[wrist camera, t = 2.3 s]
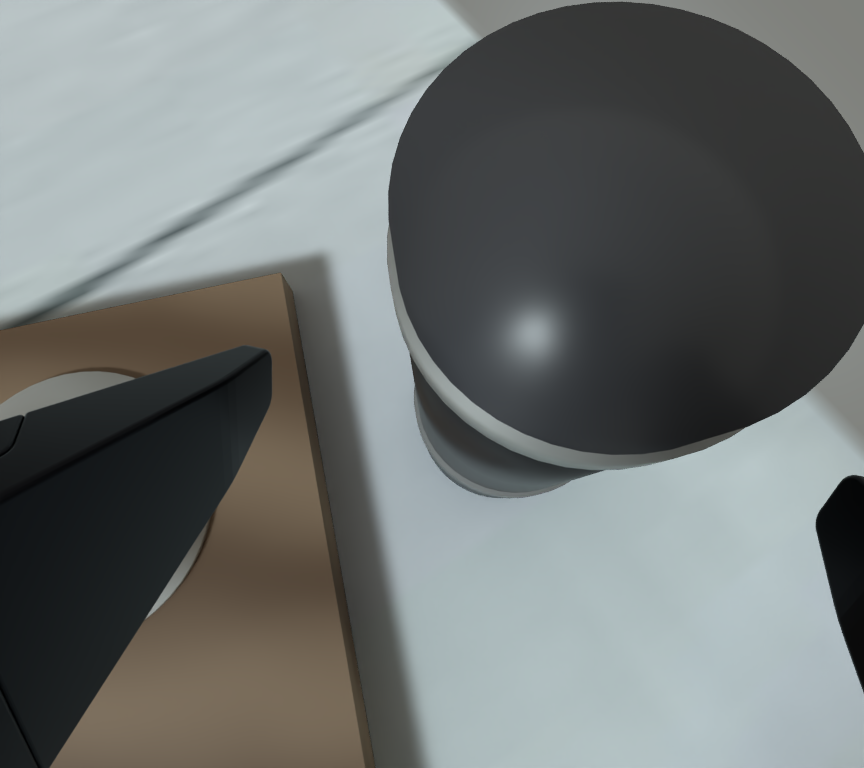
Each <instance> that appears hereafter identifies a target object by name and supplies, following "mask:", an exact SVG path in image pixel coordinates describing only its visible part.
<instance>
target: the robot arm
mask: <svg viewBox="0 0 864 768" xmlns="http://www.w3.org/2000/svg"><path fill="white" fill-rule="evenodd" d="M271 399H272V357H271V353H270V352H269V351H268V350H267V349H263V348H258V347H254V346H249V345H242V346H239V347H236V348H233V349H229V350H226V351H223V352H220V353H217V354H213V355H210V356H207V357H204V358H201V359H197V360H194V361H191V362H188V363H184V364H181V365H178V366H175V367H172V368H168V369H165V370H162V371H159V372H155V373H152V374H149V375H146V376H143V377H139V378H136V379H133V380H130V381H127V382H123V383H120V384H117V385H114V386H110V387H107V388H104V389H101V390H98V391H94V392H91V393H88V394H85V395H81V396H78V397H75V398H72V399H69V400H65V401H62V402H59V403H56V404H53V405H49V406H46V407H43V408H40V409H36V410H33V411H30V412H27V413H26V414H25V417H24V416H23V415H17V416H13V417H10V418H7V419H4V420H1V421H0V768H50V766H51V765H52V763H53V762H54V760H55V759H56V757H57V755H58V754H59V752H60V751H61V749H62V748H63V746H64V745H65V743H66V741H67V740H68V738H69V737H70V735H71V734H72V732H73V731H74V729H75V727H76V726H77V724H78V723H79V721H80V720H81V718H82V717H83V715H84V713H85V712H86V710H87V709H88V707H89V706H90V704H91V703H92V701H93V699H94V698H95V696H96V695H97V693H98V692H99V690H100V689H101V687H102V685H103V684H104V682H105V681H106V679H107V678H108V676H109V675H110V673H111V671H112V670H113V668H114V667H115V665H116V664H117V662H118V661H119V659H120V657H121V656H122V654H123V653H124V651H125V650H126V648H127V647H128V645H129V643H130V642H131V640H132V639H133V637H134V636H135V634H136V632H137V631H138V629H139V628H140V626H141V625H142V623H143V622H144V620H145V618H146V617H147V615H148V614H149V612H150V611H151V609H152V608H153V606H154V604H155V603H156V601H157V600H158V598H159V597H160V595H161V594H162V592H163V590H164V589H165V587H166V586H167V584H168V583H169V581H170V580H171V578H172V576H173V575H174V573H175V572H176V570H177V569H178V567H179V566H180V564H181V562H182V561H183V559H184V558H185V556H186V555H187V553H188V552H189V550H190V548H191V547H192V545H193V544H194V542H195V541H196V539H197V538H198V536H199V534H200V533H201V531H202V530H203V528H204V527H205V525H206V524H207V522H208V520H209V519H210V517H211V516H212V514H213V513H214V511H215V510H216V508H217V506H218V505H219V503H220V502H221V500H222V499H223V497H224V495H225V494H226V492H227V491H228V489H229V487H230V486H231V484H232V482H233V481H234V479H235V477H236V475H237V473H238V471H239V469H240V467H241V465H242V463H243V461H244V459H245V456H246V454H247V452H248V450H249V448H250V446H251V444H252V442H253V440H254V438H255V436H256V434H257V432H258V429H259V427H260V425H261V423H262V421H263V419H264V417H265V415H266V413H267V411H268V409H269V406H270V403H271ZM816 532H817V536H818V540H819V544H820V548H821V552H822V557H823V561H824V565H825V569H826V573H827V577H828V582H829V586H830V590H831V594H832V598H833V602H834V606H835V610H836V614H837V617H838V621H839V624H840V627H841V630H842V633H843V636H844V639H845V642H846V645H847V648H848V650H849V653H850V656H851V659H852V662H853V664H854V667H855V670H856V673H857V676H858V678H859V681H860V684H861V687H862V689H863V692H864V477H862V476H857V475H851V476H847V477H846V478H844V479H843V480H842V481H841V482H840V483H839V485H838V486H837V488H836V489H835V490H834V492H833V493H832V494H831V496H830V497H829V499H828V500H827V501H826V503H825V504H824V506H823V507H822V508H821V510H820V511H819V513H818V515H817V518H816Z"/></svg>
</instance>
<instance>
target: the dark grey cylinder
mask: <svg viewBox="0 0 864 768" xmlns="http://www.w3.org/2000/svg"><path fill="white" fill-rule="evenodd" d="M388 200H389V228H388V235H387V264H388V271H389V278H390V285H391V291H392V296H393V301H394V306H395V311H396V315H397V319H398V322H399V326H400V329H401V332H402V336H403V338H404V341H405V343H406V345H407V347H408V350H409V352H410V358H411V364H412V370H413V376H414V383H415V388H414V405H415V412H416V418H417V423H418V427H419V430H420V433H421V436H422V438H423V441H424V443H425V445H426V447H427V449H428V451H429V453H430V455H431V457H432V459H433V460H434V462H435V464H436V465H437V466H438V467H439V469H440V470H441V471H442V472H443V473H444V474H445V475H446V476H447V477H448V478H449V479H450V480H452V481H453V482H454V483H456V484H457V485H458V486H460V487H462V488H464V489H466V490H468V491H470V492H473V493H475V494H478V495H482V496H486V497H493V498H523V497H529V496H534V495H538V494H542V493H545V492H548V491H552V490H554V489H556V488H558V487H561V486H563V485H565V484H566V483H568V482H570V481H571V480H574V479H577V478H581V477H584V476H587V475H591V474H594V473H597V472H600V471H604V470H622V469H628V468H634V467H641V466H647V465H651V464H655V463H659V462H663V461H666V460H670V459H674V458H677V457H681V456H684V455H687V454H691V453H694V452H697V451H700V450H704V449H706V448H708V447H710V446H712V445H715V444H717V443H719V442H721V441H723V440H725V439H728V438H730V437H732V436H733V435H735V434H736V433H738V432H739V431H741V430H742V429H744V428H745V427H748V426H750V425H752V424H754V423H757V422H759V421H761V420H763V419H765V418H767V417H770V416H772V415H774V414H776V413H778V412H780V411H781V410H783V409H784V408H786V407H787V406H789V405H790V404H792V403H793V402H795V401H796V400H798V399H800V398H801V397H803V396H804V395H806V394H807V393H808V392H809V391H810V390H811V389H812V388H813V387H815V386H816V385H817V384H818V383H819V382H820V381H821V380H822V379H824V378H825V377H826V376H827V375H828V374H829V373H830V372H831V371H832V369H833V368H834V367H835V366H836V365H837V363H838V362H839V361H840V360H841V358H842V357H843V356H844V355H845V353H846V352H847V351H848V350H849V348H850V347H851V345H852V343H853V342H854V340H855V338H856V336H857V335H858V333H859V331H860V330H861V328H862V326H863V324H864V153H863V151H862V149H861V147H860V145H859V144H858V142H857V140H856V138H855V136H854V134H853V133H852V131H851V129H850V127H849V125H848V124H847V123H846V121H845V120H844V119H843V117H842V116H841V114H840V113H839V112H838V110H837V109H836V108H835V106H834V105H833V104H832V102H831V101H830V100H829V99H828V98H827V97H826V96H825V95H824V93H823V92H822V91H821V90H820V89H819V88H818V87H817V86H816V85H815V84H814V82H813V81H812V80H811V79H809V78H808V77H807V76H806V75H805V74H804V73H803V72H801V71H800V70H799V69H798V68H797V67H796V66H794V65H793V64H792V63H791V62H790V61H789V60H787V59H786V58H784V57H782V56H781V55H780V54H778V53H777V52H776V51H774V50H772V49H771V48H770V47H768V46H767V45H765V44H764V43H762V42H760V41H758V40H756V39H755V38H753V37H751V36H749V35H747V34H745V33H744V32H741V31H739V30H738V29H735V28H733V27H731V26H728V25H726V24H723V23H721V22H719V21H716V20H714V19H711V18H708V17H705V16H702V15H698V14H695V13H691V12H688V11H685V10H681V9H676V8H670V7H665V6H660V5H654V4H644V3H632V2H601V3H600V2H598V3H597V2H596V3H587V4H580V5H572V6H565V7H561V8H557V9H553V10H549V11H545V12H541V13H537V14H535V15H532V16H529V17H527V18H524V19H521V20H519V21H516V22H513V23H511V24H509V25H507V26H505V27H503V28H501V29H499V30H497V31H495V32H493V33H491V34H489V35H487V36H486V37H485V38H483V39H482V40H480V41H479V42H477V43H476V44H474V45H473V46H471V47H470V48H468V49H467V50H465V51H464V52H463V53H462V54H461V55H460V56H458V57H457V58H456V59H455V60H454V61H453V62H452V63H451V64H449V65H448V66H447V67H446V68H445V69H444V70H443V71H442V72H441V73H440V75H439V76H438V77H437V78H436V79H435V80H434V81H433V83H432V84H431V85H430V86H429V87H428V88H427V90H426V91H425V93H424V94H423V96H422V97H421V99H420V100H419V102H418V103H417V105H416V107H415V108H414V110H413V111H412V113H411V115H410V117H409V119H408V121H407V124H406V126H405V128H404V130H403V132H402V134H401V137H400V140H399V143H398V146H397V150H396V153H395V157H394V160H393V163H392V170H391V177H390V184H389V191H388Z"/></svg>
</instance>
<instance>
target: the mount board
mask: <svg viewBox="0 0 864 768" xmlns="http://www.w3.org/2000/svg"><path fill="white" fill-rule="evenodd" d="M242 345H249V346H254V347H258V348H263V349H267V350H268V351H269V352H270V353H271V357H272V399H271V403H270V406H269V409H268V411H267V413H266V415H265V417H264V419H263V421H262V423H261V425H260V427H259V429H258V432H257V434H256V436H255V438H254V440H253V442H252V444H251V446H250V448H249V450H248V452H247V454H246V456H245V459H244V461H243V463H242V465H241V467H240V469H239V471H238V473H237V475H236V477H235V479H234V481H233V482H232V484H231V486H230V487H229V489H228V491H227V492H226V494H225V495H224V497H223V499H222V500H221V502H220V503H219V505H218V506H217V508H216V510H215V511H214V513H213V514H212V516H211V517H210V519H209V520H208V522H207V524H206V525H205V527H204V528H203V530H202V531H201V533H200V534H199V536H198V538H197V539H196V541H195V542H194V544H193V545H192V547H191V548H190V550H189V552H188V553H187V555H186V556H185V558H184V559H183V561H182V562H181V564H180V566H179V567H178V569H177V570H176V572H175V573H174V575H173V576H172V578H171V580H170V581H169V583H168V584H167V586H166V587H165V589H164V590H163V592H162V594H161V595H160V597H159V598H158V600H157V601H156V603H155V604H154V606H153V608H152V609H151V611H150V612H149V614H148V615H147V617H146V618H145V620H144V622H143V623H142V625H141V626H140V628H139V629H138V631H137V632H136V634H135V636H134V637H133V639H132V640H131V642H130V643H129V645H128V647H127V648H126V650H125V651H124V653H123V654H122V656H121V657H120V659H119V661H118V662H117V664H116V665H115V667H114V668H113V670H112V671H111V673H110V675H109V676H108V678H107V679H106V681H105V682H104V684H103V685H102V687H101V689H100V690H99V692H98V693H97V695H96V696H95V698H94V699H93V701H92V703H91V704H90V706H89V707H88V709H87V710H86V712H85V713H84V715H83V717H82V718H81V720H80V721H79V723H78V724H77V726H76V727H75V729H74V731H73V732H72V734H71V735H70V737H69V738H68V740H67V741H66V743H65V745H64V746H63V748H62V749H61V751H60V752H59V754H58V755H57V757H56V759H55V760H54V762H53V763H52V765H51V766H50V768H375V763H374V757H373V751H372V745H371V740H370V734H369V728H368V722H367V717H366V711H365V705H364V699H363V694H362V688H361V682H360V677H359V671H358V665H357V659H356V654H355V648H354V642H353V636H352V631H351V625H350V619H349V613H348V608H347V602H346V596H345V590H344V585H343V579H342V573H341V567H340V562H339V556H338V550H337V544H336V539H335V533H334V527H333V521H332V516H331V510H330V504H329V498H328V493H327V487H326V481H325V475H324V470H323V464H322V458H321V453H320V447H319V441H318V435H317V430H316V424H315V418H314V412H313V407H312V401H311V395H310V389H309V384H308V378H307V372H306V366H305V361H304V355H303V349H302V343H301V338H300V332H299V326H298V320H297V315H296V309H295V303H294V297H293V292H292V290H291V288H290V286H289V285H288V283H287V282H286V280H285V278H284V277H283V275H282V274H281V273H276V274H271V275H267V276H262V277H257V278H252V279H247V280H242V281H237V282H233V283H228V284H223V285H218V286H213V287H208V288H203V289H199V290H194V291H189V292H184V293H179V294H174V295H169V296H165V297H160V298H155V299H150V300H145V301H140V302H135V303H131V304H126V305H121V306H116V307H111V308H106V309H102V310H97V311H92V312H87V313H82V314H77V315H72V316H68V317H63V318H58V319H53V320H48V321H43V322H38V323H34V324H29V325H24V326H19V327H14V328H9V329H4V330H0V421H1V420H4V419H7V418H10V417H13V416H17V415H23V416H24V417H25V414H26V413H27V412H30V411H33V410H36V409H40V408H43V407H46V406H49V405H53V404H56V403H59V402H62V401H65V400H69V399H72V398H75V397H78V396H81V395H85V394H88V393H91V392H94V391H98V390H101V389H104V388H107V387H110V386H114V385H117V384H120V383H123V382H127V381H130V380H133V379H136V378H139V377H143V376H146V375H149V374H152V373H155V372H159V371H162V370H165V369H168V368H172V367H175V366H178V365H181V364H184V363H188V362H191V361H194V360H197V359H201V358H204V357H207V356H210V355H213V354H217V353H220V352H223V351H226V350H229V349H233V348H236V347H239V346H242Z"/></svg>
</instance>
